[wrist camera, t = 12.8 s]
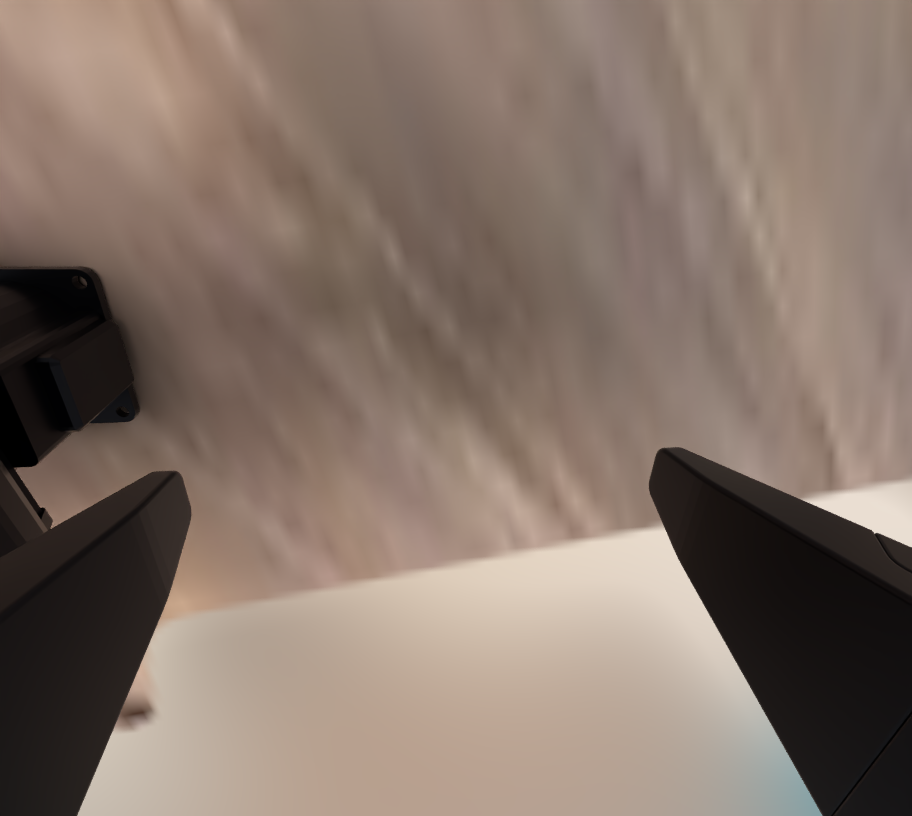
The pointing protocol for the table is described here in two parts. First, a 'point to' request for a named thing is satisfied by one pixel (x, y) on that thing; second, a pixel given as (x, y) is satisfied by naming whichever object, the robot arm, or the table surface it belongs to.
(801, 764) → the robot arm
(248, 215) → the table surface
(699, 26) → the table surface
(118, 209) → the table surface
